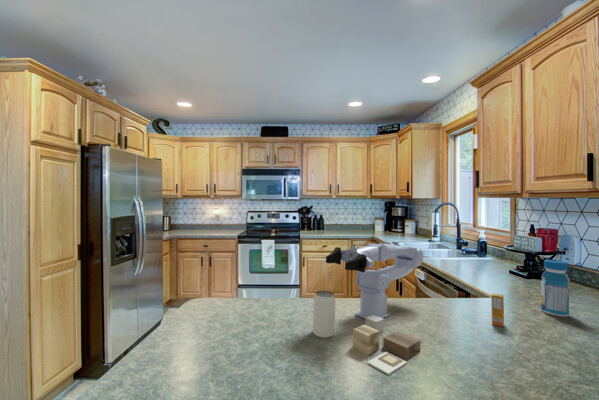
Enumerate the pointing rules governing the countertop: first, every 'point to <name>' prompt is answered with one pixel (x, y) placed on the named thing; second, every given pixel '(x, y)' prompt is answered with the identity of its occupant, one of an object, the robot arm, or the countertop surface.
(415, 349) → the walnut block
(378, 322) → the grey cube
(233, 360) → the countertop surface
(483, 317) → the countertop surface
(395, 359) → the card
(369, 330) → the maple cube
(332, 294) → the can
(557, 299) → the supplement bottle
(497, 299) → the supplement box
